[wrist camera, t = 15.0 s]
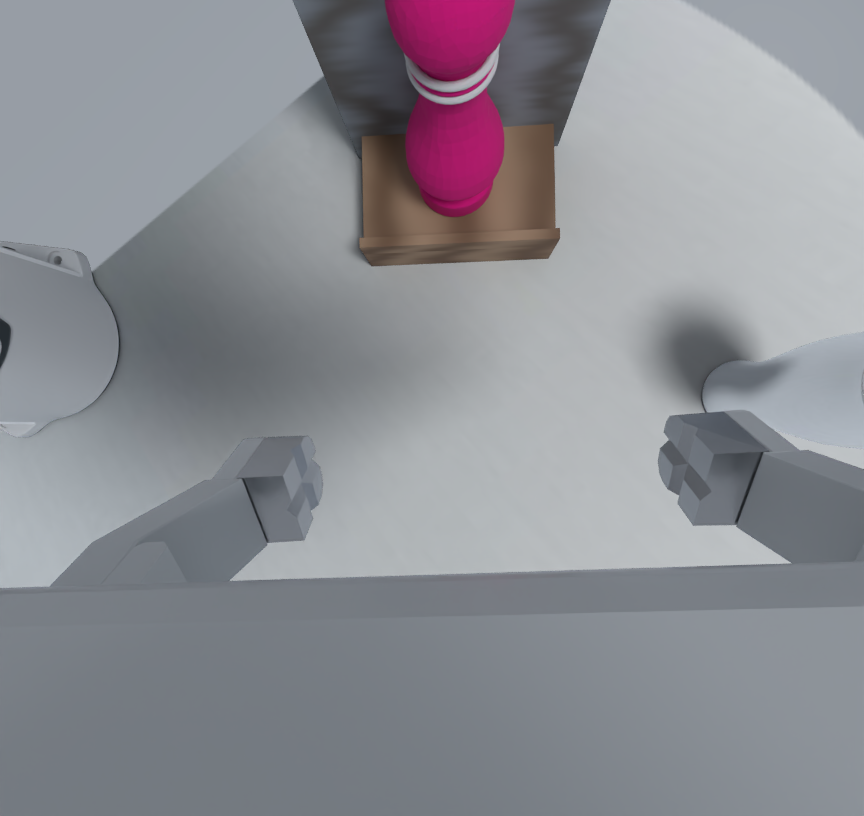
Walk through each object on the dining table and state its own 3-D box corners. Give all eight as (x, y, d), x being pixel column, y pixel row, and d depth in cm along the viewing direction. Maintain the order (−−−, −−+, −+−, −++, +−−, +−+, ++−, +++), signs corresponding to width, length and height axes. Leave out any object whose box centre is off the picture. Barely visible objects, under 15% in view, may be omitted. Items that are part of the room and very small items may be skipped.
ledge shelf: (360, 266, 39) (92, -100, 11) (358, 145, 38) (83, -544, 11) (559, 258, 37) (850, -187, 9) (557, 132, 37) (842, -695, 9)
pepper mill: (485, 125, 35) (516, -255, 15) (509, 208, 35) (573, -61, 15) (402, 153, 35) (323, -178, 15) (426, 235, 35) (377, 9, 15)
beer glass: (682, 376, 36) (833, 356, 22) (757, 341, 36) (967, 295, 21) (718, 448, 36) (896, 478, 21) (794, 414, 36) (1032, 420, 21)
